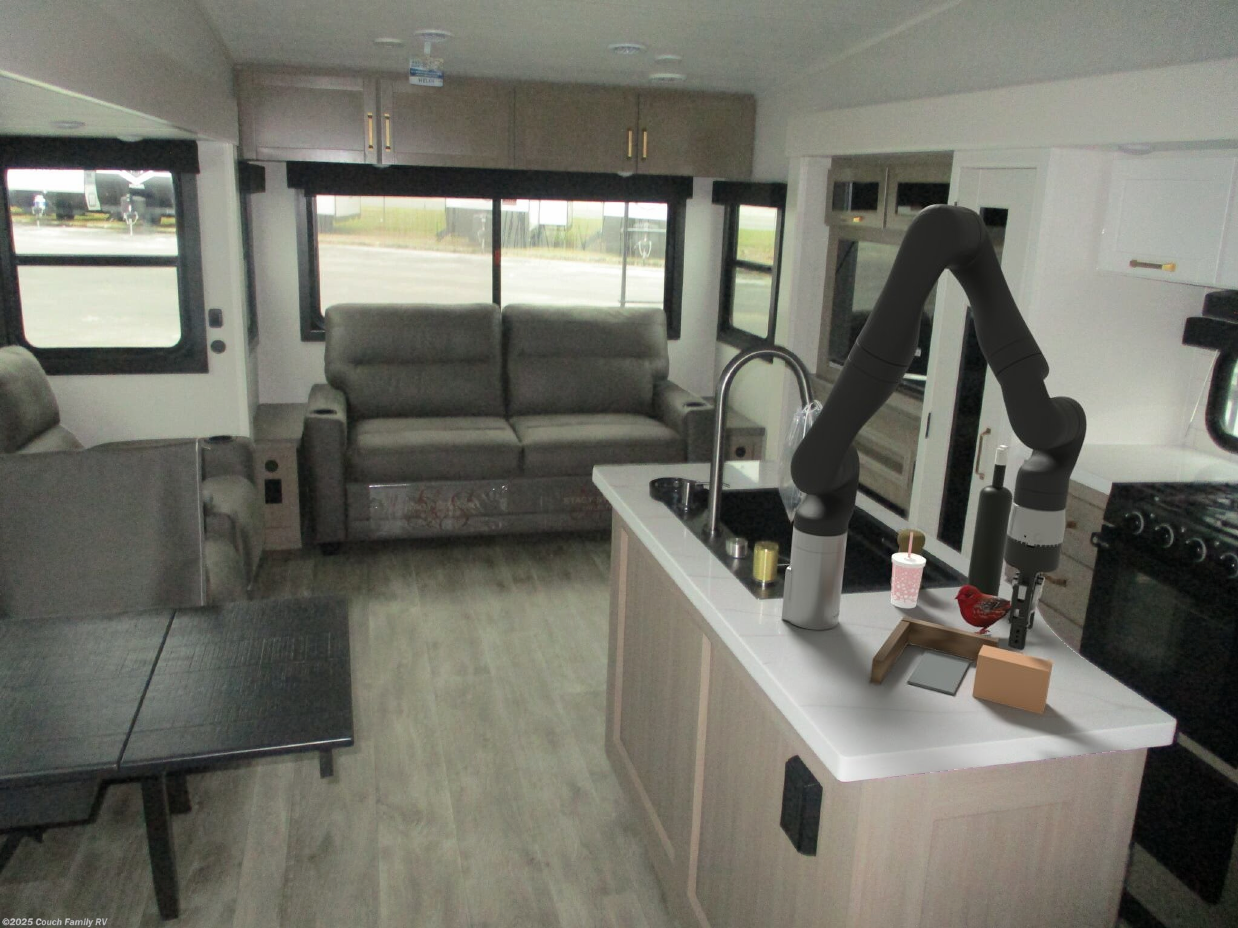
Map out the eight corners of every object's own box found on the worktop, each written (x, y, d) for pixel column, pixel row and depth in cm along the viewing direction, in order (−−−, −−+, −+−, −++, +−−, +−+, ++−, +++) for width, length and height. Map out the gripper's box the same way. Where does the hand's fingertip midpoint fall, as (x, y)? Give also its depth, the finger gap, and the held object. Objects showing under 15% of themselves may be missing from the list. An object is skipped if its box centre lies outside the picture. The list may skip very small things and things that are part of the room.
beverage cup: (926, 608, 181) (936, 537, 177) (896, 611, 180) (905, 538, 176) (909, 595, 187) (918, 526, 183) (880, 597, 185) (888, 527, 182)
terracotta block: (972, 696, 150) (978, 654, 148) (977, 685, 153) (983, 644, 151) (1042, 714, 145) (1049, 671, 143) (1045, 703, 148) (1052, 661, 146)
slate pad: (907, 682, 153) (907, 680, 153) (926, 651, 164) (926, 649, 164) (953, 695, 149) (953, 692, 149) (970, 662, 160) (970, 660, 160)
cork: (923, 591, 189) (930, 537, 186) (891, 588, 190) (897, 534, 187) (920, 580, 195) (927, 527, 192) (889, 576, 196) (895, 524, 193)
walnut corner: (870, 681, 153) (872, 658, 152) (901, 637, 169) (903, 616, 168) (973, 709, 145) (977, 685, 144) (995, 660, 161) (999, 638, 160)
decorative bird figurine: (942, 637, 169) (950, 583, 167) (1019, 623, 176) (1027, 571, 174) (954, 644, 167) (962, 589, 164) (1032, 629, 174) (1040, 577, 171)
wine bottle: (966, 602, 185) (987, 448, 177) (964, 590, 190) (985, 440, 182) (998, 606, 183) (1021, 451, 176) (995, 594, 189) (1018, 444, 181)
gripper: (1015, 517, 150) (1001, 615, 154) (999, 543, 138) (985, 649, 142) (1068, 525, 146) (1053, 626, 150) (1057, 553, 134) (1041, 661, 138)
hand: (1020, 637), depth 146 cm, fingers open, 8 cm apart
